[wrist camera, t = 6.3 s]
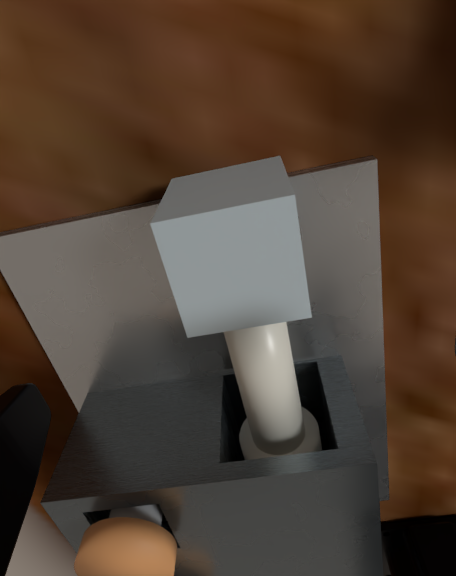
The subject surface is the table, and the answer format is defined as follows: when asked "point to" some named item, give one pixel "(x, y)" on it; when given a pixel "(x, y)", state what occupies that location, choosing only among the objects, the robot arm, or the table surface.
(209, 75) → the table surface
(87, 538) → the plunger
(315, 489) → the grey slotted base
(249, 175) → the cube-topped plunger
